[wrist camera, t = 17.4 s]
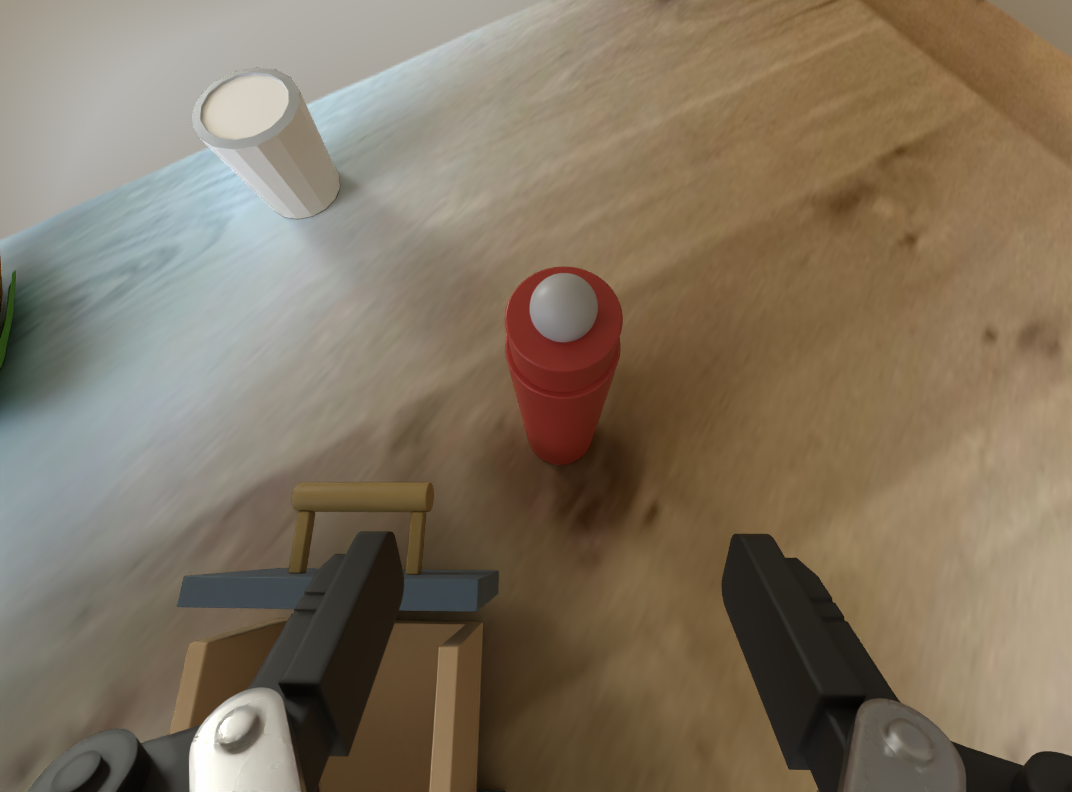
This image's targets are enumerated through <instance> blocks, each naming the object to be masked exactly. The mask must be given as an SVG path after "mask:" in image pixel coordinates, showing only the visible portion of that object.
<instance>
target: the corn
mask: <svg viewBox="0 0 1072 792" xmlns="http://www.w3.org/2000/svg"><path fill="white" fill-rule="evenodd" d="M15 279H16V271H14V272H13V273H12V280H11V284H10V286H9V289H8V302H7V311H6V315H5V319H4V323H3V327H2V331H1V335H0V368H1V366H2V363H3V361H4V357H5V353H6V348H7V343H8V338H9V333H10V328H11V323H12V318H13V311H14V295H15ZM2 296H3V292H2V275H1V258H0V310H1V303H2Z"/></svg>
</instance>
